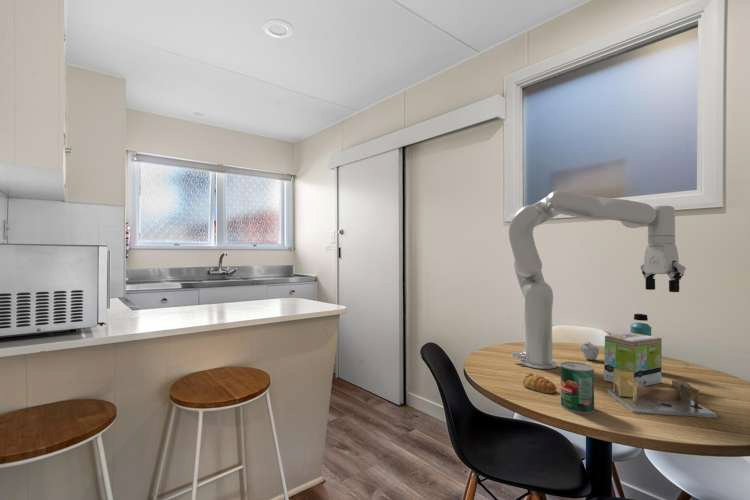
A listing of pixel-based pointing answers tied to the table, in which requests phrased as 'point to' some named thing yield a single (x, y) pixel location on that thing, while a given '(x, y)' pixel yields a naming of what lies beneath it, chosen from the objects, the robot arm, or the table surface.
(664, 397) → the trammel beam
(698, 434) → the table surface
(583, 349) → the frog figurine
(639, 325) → the beverage bottle
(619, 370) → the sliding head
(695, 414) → the bolt plate
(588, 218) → the robot arm
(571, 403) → the canned tomato
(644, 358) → the tea box
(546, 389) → the pastry
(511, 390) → the table surface
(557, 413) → the table surface
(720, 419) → the table surface
